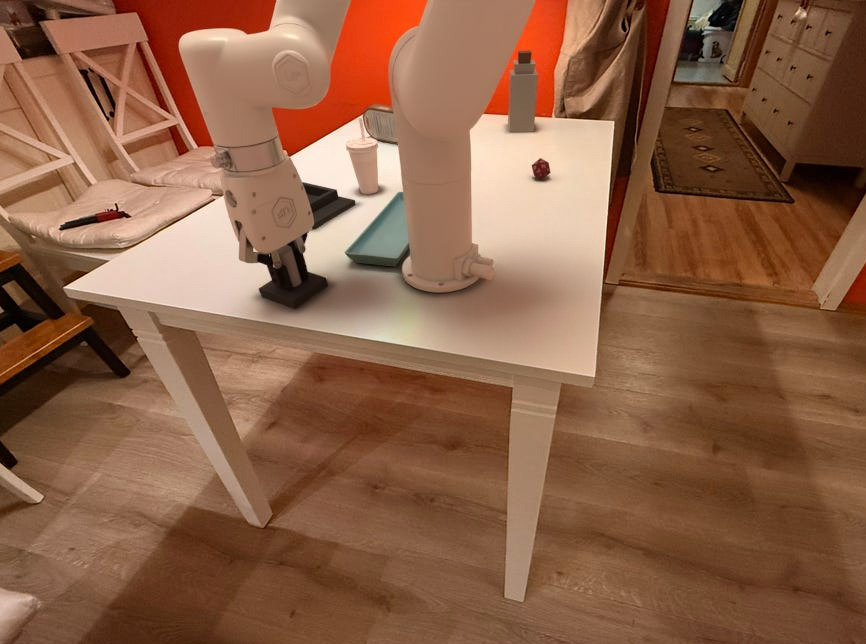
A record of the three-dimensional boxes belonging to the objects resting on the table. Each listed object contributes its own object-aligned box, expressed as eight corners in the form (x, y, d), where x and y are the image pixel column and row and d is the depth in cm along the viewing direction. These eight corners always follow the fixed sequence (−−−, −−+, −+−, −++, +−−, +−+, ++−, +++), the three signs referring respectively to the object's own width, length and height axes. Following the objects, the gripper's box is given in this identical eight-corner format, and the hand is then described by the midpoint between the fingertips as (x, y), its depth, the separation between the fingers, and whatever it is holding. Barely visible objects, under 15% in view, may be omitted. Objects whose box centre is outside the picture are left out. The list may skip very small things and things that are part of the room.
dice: (535, 183, 99) (536, 163, 96) (528, 175, 102) (530, 156, 99) (551, 181, 99) (553, 162, 97) (545, 173, 103) (546, 155, 100)
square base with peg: (328, 285, 71) (317, 244, 66) (295, 309, 66) (281, 266, 61) (295, 274, 73) (282, 234, 68) (261, 297, 69) (245, 255, 64)
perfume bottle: (533, 131, 126) (539, 53, 114) (509, 132, 126) (512, 54, 114) (531, 124, 131) (536, 49, 119) (507, 125, 131) (510, 49, 119)
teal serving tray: (399, 201, 93) (397, 188, 92) (442, 204, 92) (442, 192, 90) (345, 266, 75) (342, 252, 73) (399, 272, 73) (397, 258, 71)
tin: (415, 144, 120) (412, 108, 115) (407, 147, 118) (404, 111, 113) (371, 135, 127) (366, 101, 121) (364, 139, 125) (358, 104, 119)
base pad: (355, 204, 93) (353, 191, 91) (314, 229, 85) (310, 214, 83) (304, 192, 98) (301, 179, 96) (261, 214, 90) (256, 200, 88)
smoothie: (378, 197, 95) (367, 124, 86) (349, 195, 96) (335, 123, 87) (388, 185, 100) (378, 114, 90) (360, 183, 101) (348, 113, 91)
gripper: (216, 181, 50) (269, 318, 62) (320, 138, 60) (347, 263, 72) (172, 170, 52) (231, 303, 65) (278, 131, 63) (311, 252, 75)
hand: (292, 281), depth 68 cm, fingers closed on square base with peg, 2 cm apart
